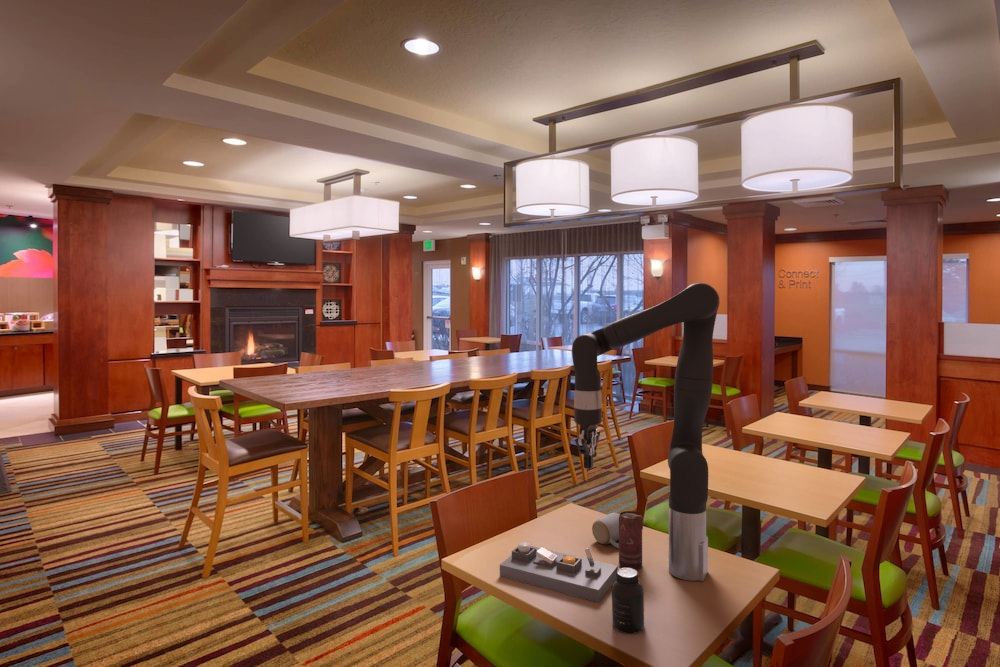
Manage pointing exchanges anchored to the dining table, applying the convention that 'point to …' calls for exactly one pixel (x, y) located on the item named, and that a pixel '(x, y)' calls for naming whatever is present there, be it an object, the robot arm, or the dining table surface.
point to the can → (630, 539)
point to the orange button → (569, 560)
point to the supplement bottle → (627, 601)
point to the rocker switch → (546, 555)
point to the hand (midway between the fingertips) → (588, 467)
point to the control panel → (560, 574)
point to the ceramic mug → (607, 529)
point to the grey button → (524, 547)
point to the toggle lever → (589, 557)
